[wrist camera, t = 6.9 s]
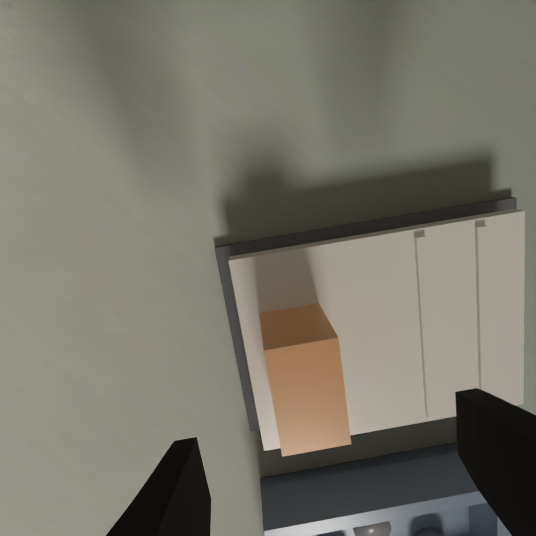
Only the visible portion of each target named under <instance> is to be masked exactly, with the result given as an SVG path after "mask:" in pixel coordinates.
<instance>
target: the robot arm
mask: <svg viewBox="0 0 536 536" xmlns="http://www.w3.org/2000/svg"><path fill="white" fill-rule="evenodd" d="M455 397H456V420H457V443H458V455H459V457H460V459H461V461H462V463H463V464H464V466H465V468H466V470H467V472H468V473H469V475H470V477H471V479H472V480H473V482H474V484H475V485H476V487H477V489H478V490H479V492H480V493H481V495H482V496H483V497H484V499H485V500H486V501H487V503H488V504H489V506H490V507H491V508H492V510H493V511H494V512H495V514H496V515H497V516H498V518H499V519H500V520H501V522H502V523H503V525H504V526H505V527H506V529H507V530H508V531H509V533H510V534H511V535H512V536H536V415H534V414H532V413H530V412H527V411H525V410H523V409H521V408H519V407H517V406H515V405H513V404H511V403H509V402H507V401H505V400H503V399H500V398H498V397H496V396H494V395H492V394H490V393H488V392H485V391H483V390H481V389H478V388H474V389H468V390H463V391H457V392H455ZM210 521H211V497H210V493H209V488H208V484H207V480H206V476H205V471H204V467H203V463H202V459H201V454H200V450H199V446H198V442H197V437H195V438H189V439H184V440H178V441H174V442H173V444H172V445H171V446H170V448H169V449H168V451H167V452H166V454H165V455H164V457H163V458H162V460H161V461H160V463H159V464H158V466H157V467H156V469H155V470H154V471H153V473H152V474H151V476H150V477H149V479H148V480H147V482H146V483H145V484H144V486H143V487H142V489H141V490H140V491H139V493H138V494H137V496H136V497H135V498H134V500H133V501H132V503H131V504H130V505H129V507H128V508H127V509H126V511H125V512H124V513H123V514H122V516H121V517H120V518H119V520H118V521H117V522H116V523H115V525H114V526H113V527H112V529H111V530H110V531H109V532H108V534H107V535H106V536H210Z"/></svg>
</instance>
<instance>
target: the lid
mask: <svg viewBox="0 0 536 536" xmlns="http://www.w3.org/2000/svg"><path fill="white" fill-rule="evenodd" d="M228 262H229V267H230V272H231V278H232V283H233V288H234V294H235V299H236V304H237V310H238V315H239V320H240V326H241V331H242V336H243V341H244V347H245V352H246V357H247V363H248V368H249V373H250V379H251V384H252V389H253V395H254V400H255V405H256V411H257V416H258V421H259V427H260V432H261V437H262V443H263V448H264V451H268V450H273V449H279V448H281V453H282V457H284V456H289V455H295V454H300V453H306V452H311V451H317V450H322V449H328V448H333V447H339V446H344V445H350V444H351V437H350V435H356V434H361V433H367V432H372V431H378V430H383V429H389V428H394V427H400V426H405V425H411V424H416V423H422V422H427V421H433V420H438V419H444V418H450V417H455V416H456V397H455V392H457V391H463V390H468V389H474V388H478V389H481V390H483V391H485V392H488V393H490V394H492V395H494V396H496V397H498V398H500V399H503V400H505V401H507V402H509V403H511V404H513V405H515V406H516V405H521V404H524V267H525V211H523V210H517V209H509V210H504V211H498V212H492V213H486V214H480V215H474V216H468V217H462V218H456V219H450V220H444V221H438V222H432V223H426V224H420V225H414V226H408V227H402V228H397V229H391V230H385V231H379V232H373V233H367V234H361V235H355V236H349V237H343V238H337V239H331V240H325V241H319V242H313V243H307V244H301V245H295V246H290V247H284V248H278V249H272V250H266V251H260V252H254V253H248V254H242V255H236V256H230V257H229V259H228Z"/></svg>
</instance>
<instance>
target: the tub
mask: <svg viewBox="0 0 536 536" xmlns="http://www.w3.org/2000/svg"><path fill="white" fill-rule="evenodd" d="M260 481H261V496H262V512H263V527H264V535H265V536H512V535H511V534H510V533H509V531H508V530H507V529H506V527H505V526H504V525H503V523H502V522H501V520H500V519H499V518H498V516H497V515H496V514H495V512H494V511H493V510H492V508H491V507H490V506H489V504H488V503H487V501H486V500H485V499H484V497H483V496H482V495H481V493H480V492H479V490H478V489H477V487H476V485H475V484H474V482H473V480H472V479H471V477H470V475H469V473H468V472H467V470H466V468H465V466H464V464H463V463H462V461H461V459H460V457H459V455H458V443H453V444H447V445H442V446H436V447H431V448H425V449H420V450H414V451H409V452H403V453H398V454H392V455H387V456H382V457H376V458H371V459H365V460H360V461H354V462H349V463H343V464H338V465H332V466H327V467H321V468H316V469H310V470H305V471H300V472H294V473H289V474H283V475H278V476H272V477H267V478H261V479H260Z"/></svg>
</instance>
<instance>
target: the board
mask: <svg viewBox="0 0 536 536" xmlns="http://www.w3.org/2000/svg"><path fill="white" fill-rule="evenodd" d="M509 209H516V198H515V197H510V198H504V199H498V200H492V201H486V202H480V203H474V204H468V205H462V206H456V207H450V208H444V209H438V210H432V211H426V212H420V213H414V214H408V215H402V216H396V217H390V218H384V219H378V220H372V221H366V222H360V223H354V224H348V225H342V226H336V227H330V228H324V229H318V230H313V231H307V232H301V233H295V234H289V235H283V236H277V237H271V238H265V239H259V240H253V241H247V242H241V243H235V244H229V245H223V246H217V247H215V251H216V257H217V262H218V267H219V272H220V277H221V282H222V287H223V293H224V298H225V303H226V308H227V313H228V318H229V323H230V328H231V334H232V339H233V344H234V349H235V354H236V359H237V364H238V370H239V375H240V380H241V385H242V390H243V395H244V400H245V405H246V411H247V416H248V421H249V426H250V431H256V430H260V427H259V421H258V416H257V411H256V405H255V400H254V395H253V389H252V384H251V379H250V373H249V368H248V363H247V357H246V352H245V347H244V341H243V336H242V331H241V326H240V320H239V315H238V310H237V304H236V299H235V294H234V288H233V283H232V278H231V272H230V267H229V262H228V259H229V257H230V256H236V255H242V254H248V253H254V252H260V251H266V250H272V249H278V248H284V247H290V246H295V245H301V244H307V243H313V242H319V241H325V240H331V239H337V238H343V237H349V236H355V235H361V234H367V233H373V232H379V231H385V230H391V229H397V228H402V227H408V226H414V225H420V224H426V223H432V222H438V221H444V220H450V219H456V218H462V217H468V216H474V215H480V214H486V213H492V212H498V211H504V210H509Z"/></svg>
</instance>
